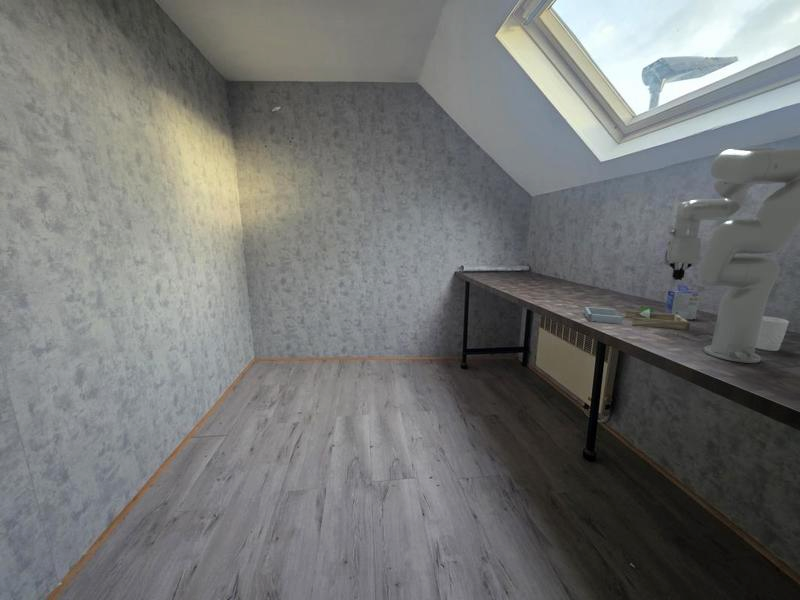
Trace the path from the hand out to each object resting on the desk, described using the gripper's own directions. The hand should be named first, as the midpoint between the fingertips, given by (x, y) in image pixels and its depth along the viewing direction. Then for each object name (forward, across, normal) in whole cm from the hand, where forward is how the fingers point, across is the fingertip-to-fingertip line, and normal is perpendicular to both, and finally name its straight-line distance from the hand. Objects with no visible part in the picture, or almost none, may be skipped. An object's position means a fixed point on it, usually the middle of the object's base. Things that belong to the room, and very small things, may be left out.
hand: (677, 279), depth 132 cm
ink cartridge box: (+19, +8, +14) cm, 25 cm away
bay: (+19, -24, 0) cm, 31 cm away
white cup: (+19, +20, -22) cm, 35 cm away
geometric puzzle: (+19, -8, 0) cm, 21 cm away
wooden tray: (+19, -5, 0) cm, 20 cm away
